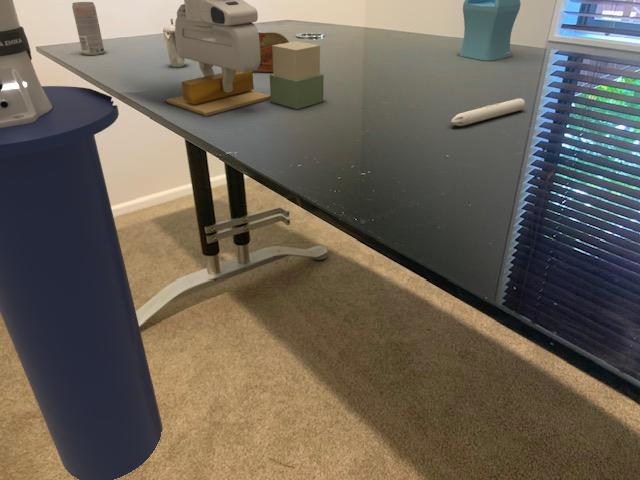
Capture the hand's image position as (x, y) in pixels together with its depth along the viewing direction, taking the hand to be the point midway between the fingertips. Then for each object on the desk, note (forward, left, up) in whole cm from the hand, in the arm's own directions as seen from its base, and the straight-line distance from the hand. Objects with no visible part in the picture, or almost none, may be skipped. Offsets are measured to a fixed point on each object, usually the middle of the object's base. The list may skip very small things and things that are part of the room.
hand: (219, 89), depth 94 cm
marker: (+24, -42, -2) cm, 48 cm away
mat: (0, 0, -2) cm, 2 cm away
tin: (+21, +13, -2) cm, 25 cm away
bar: (0, 0, -1) cm, 1 cm away
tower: (+9, -11, -2) cm, 15 cm away
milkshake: (+11, +31, -2) cm, 33 cm away
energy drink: (+4, +59, -2) cm, 59 cm away
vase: (+73, -16, -2) cm, 75 cm away
